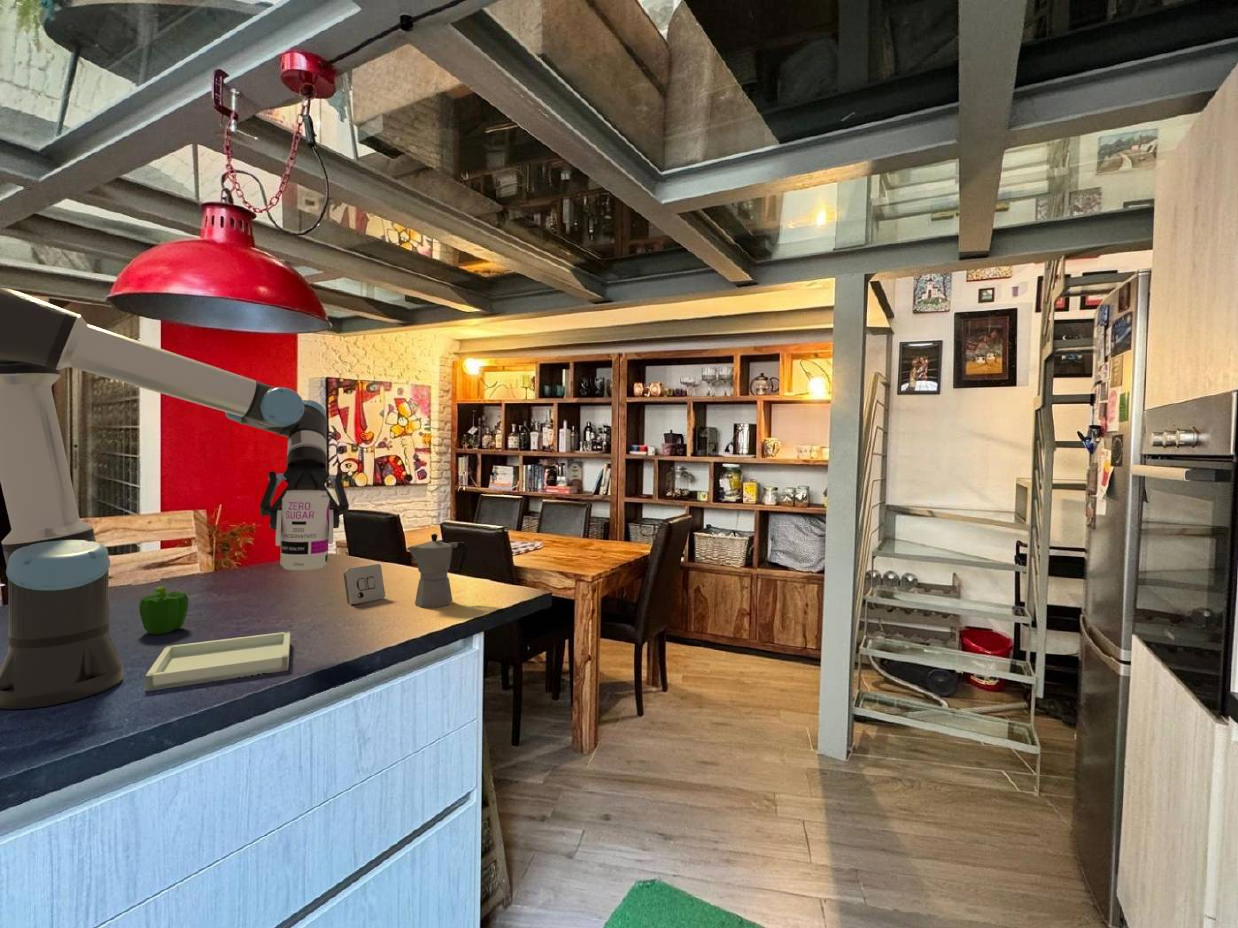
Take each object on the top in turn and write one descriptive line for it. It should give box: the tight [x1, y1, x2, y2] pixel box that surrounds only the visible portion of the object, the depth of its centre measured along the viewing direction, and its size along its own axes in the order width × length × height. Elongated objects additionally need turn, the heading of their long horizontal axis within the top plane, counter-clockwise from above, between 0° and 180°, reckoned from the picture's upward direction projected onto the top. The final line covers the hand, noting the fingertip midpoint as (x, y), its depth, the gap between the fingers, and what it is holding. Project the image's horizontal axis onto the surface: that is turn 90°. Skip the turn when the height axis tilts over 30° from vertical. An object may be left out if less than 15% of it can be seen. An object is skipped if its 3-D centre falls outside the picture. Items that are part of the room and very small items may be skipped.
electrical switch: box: [343, 563, 386, 605], centre depth 151 cm, size 9×5×9 cm, turn 141°
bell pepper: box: [138, 586, 189, 635], centre depth 123 cm, size 8×8×10 cm
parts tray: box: [144, 631, 291, 692], centre depth 104 cm, size 20×16×2 cm
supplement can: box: [279, 490, 330, 571], centre depth 114 cm, size 8×8×15 cm
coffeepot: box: [406, 533, 470, 609], centre depth 149 cm, size 15×9×18 cm, turn 112°
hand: (305, 540), depth 111 cm, fingers closed on supplement can, 8 cm apart
